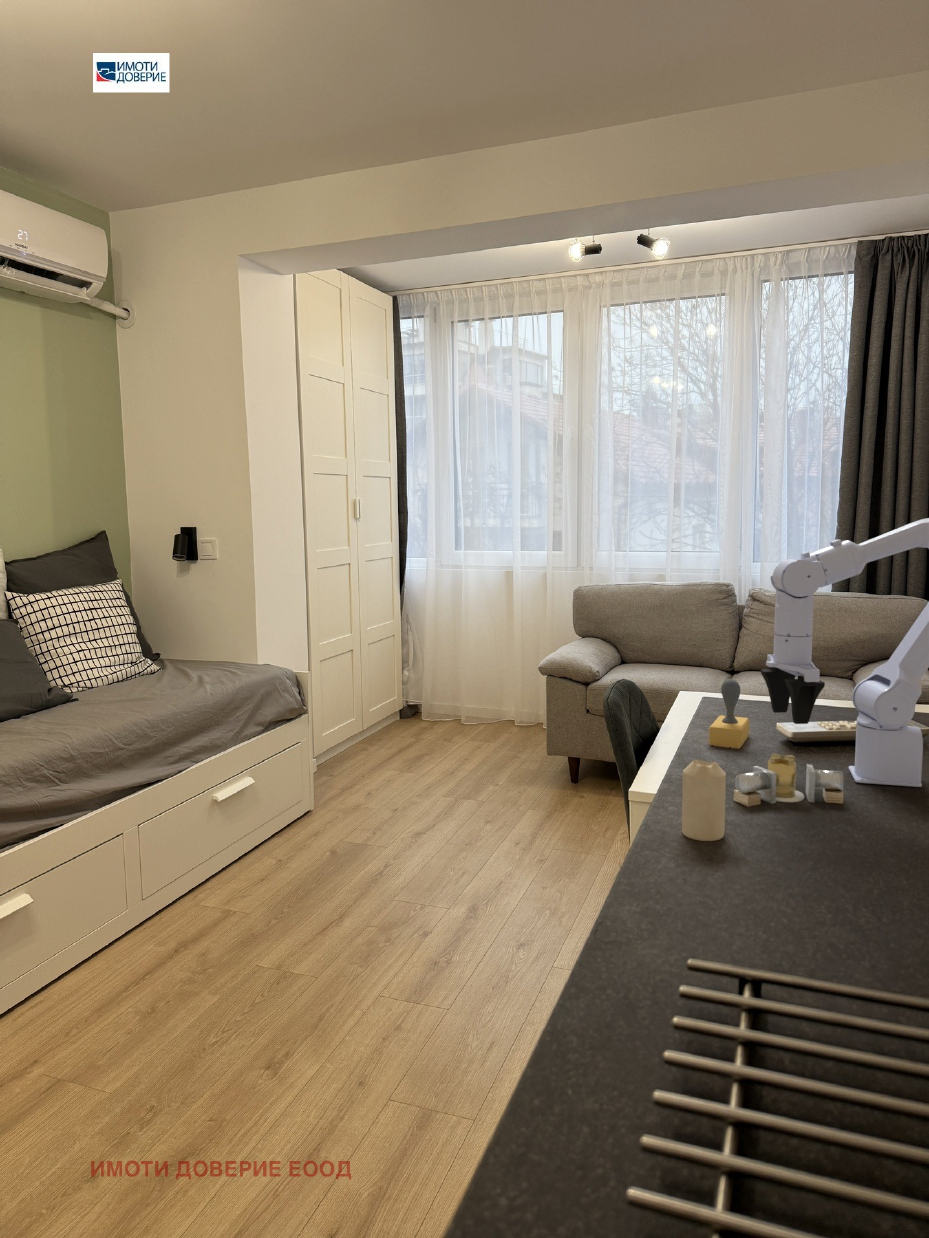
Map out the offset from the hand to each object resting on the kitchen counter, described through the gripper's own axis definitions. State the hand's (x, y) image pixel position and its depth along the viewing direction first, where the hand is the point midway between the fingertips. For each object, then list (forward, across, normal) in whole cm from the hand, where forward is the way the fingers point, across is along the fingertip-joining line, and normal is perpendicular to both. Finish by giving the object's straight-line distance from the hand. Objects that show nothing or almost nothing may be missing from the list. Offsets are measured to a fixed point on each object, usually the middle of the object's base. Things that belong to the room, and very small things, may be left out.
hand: (790, 717), depth 134 cm
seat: (+10, +9, -5) cm, 14 cm away
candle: (+10, +23, -22) cm, 33 cm away
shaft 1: (+10, +11, -10) cm, 18 cm away
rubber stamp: (+10, -23, -1) cm, 25 cm away
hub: (+10, +9, -5) cm, 14 cm away
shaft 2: (+10, +11, +1) cm, 15 cm away
